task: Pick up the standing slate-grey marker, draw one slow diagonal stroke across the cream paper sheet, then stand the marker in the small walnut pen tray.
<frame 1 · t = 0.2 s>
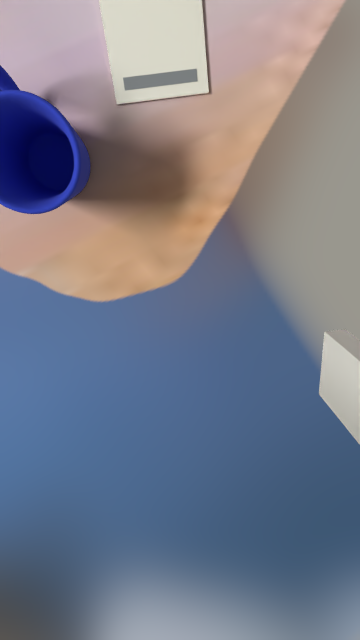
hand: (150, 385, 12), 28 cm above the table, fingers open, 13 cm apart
mug: (47, 144, 33), on the table
paper: (151, 6, 29), on the table
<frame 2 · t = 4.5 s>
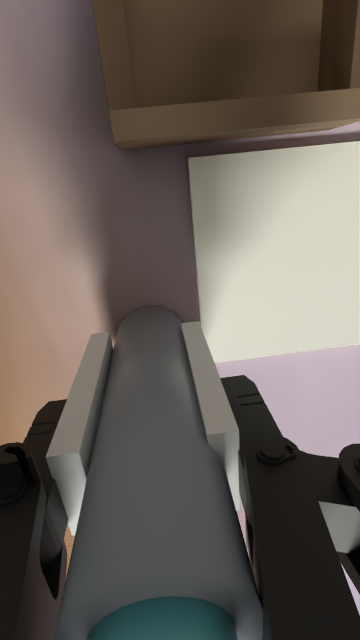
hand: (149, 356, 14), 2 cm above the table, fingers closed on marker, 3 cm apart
paper: (350, 254, 15), on the table
tray: (221, 3, 11), on the table
marker: (152, 340, 15), on the table, touching gripper
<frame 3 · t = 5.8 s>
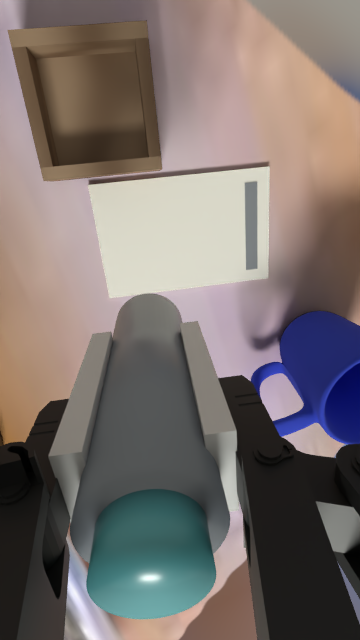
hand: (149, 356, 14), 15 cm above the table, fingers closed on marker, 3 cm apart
mug: (289, 346, 33), on the table
paper: (185, 234, 27), on the table
tray: (96, 114, 23), on the table
marker: (149, 324, 17), point 12 cm above the table, touching gripper
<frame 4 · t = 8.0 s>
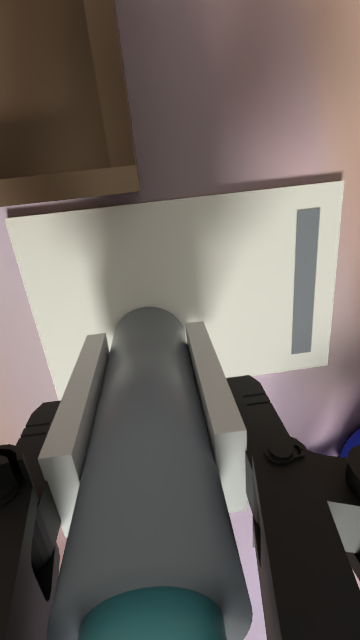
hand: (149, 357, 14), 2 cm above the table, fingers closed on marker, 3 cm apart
paper: (187, 300, 15), on the table
tray: (11, 81, 12), on the table
marker: (149, 340, 16), resting on paper, touching gripper
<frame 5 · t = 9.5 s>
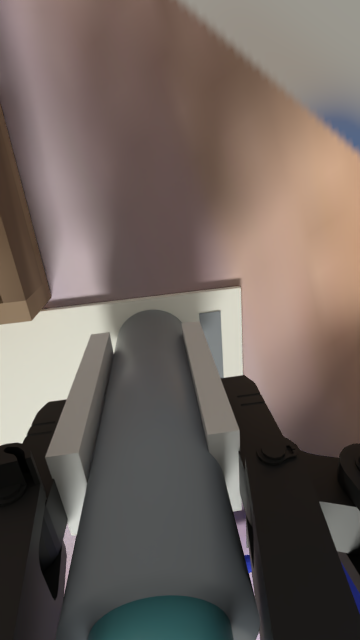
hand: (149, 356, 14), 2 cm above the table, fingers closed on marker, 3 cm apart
paper: (105, 386, 17), on the table
marker: (153, 342, 16), resting on paper, touching gripper
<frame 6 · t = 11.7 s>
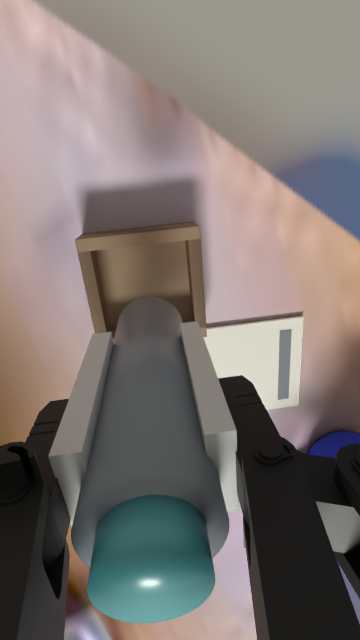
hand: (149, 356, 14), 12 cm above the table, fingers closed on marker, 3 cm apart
mug: (315, 457, 34), on the table
paper: (222, 372, 29), on the table
tray: (146, 281, 25), on the table
marker: (150, 327, 17), point 9 cm above the table, touching gripper
when the fingers open (3 cm above the table, at t = 13.1 s): marker stays where it is, resting on tray.
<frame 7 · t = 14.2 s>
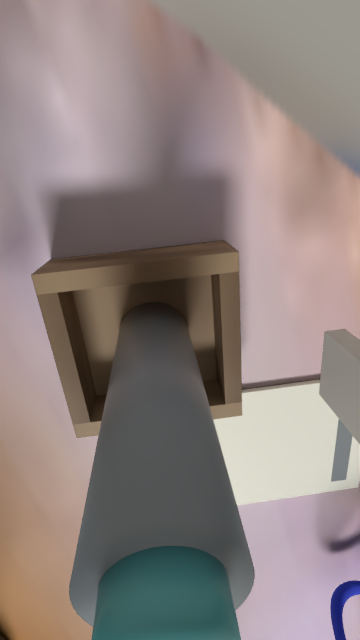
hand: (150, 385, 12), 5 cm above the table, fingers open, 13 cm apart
paper: (255, 448, 20), on the table
tray: (149, 328, 17), on the table
marker: (154, 334, 16), point 1 cm above the table, touching tray
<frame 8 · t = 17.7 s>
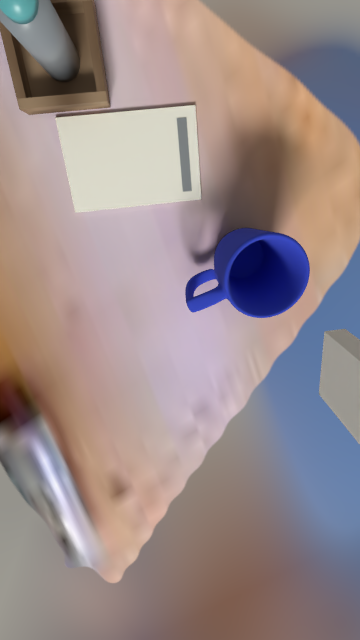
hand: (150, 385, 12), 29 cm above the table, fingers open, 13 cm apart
mug: (224, 262, 40), on the table
paper: (132, 161, 35), on the table
tray: (60, 61, 31), on the table
marker: (61, 60, 30), point 1 cm above the table, touching tray
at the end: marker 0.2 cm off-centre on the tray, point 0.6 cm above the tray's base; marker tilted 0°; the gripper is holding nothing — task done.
